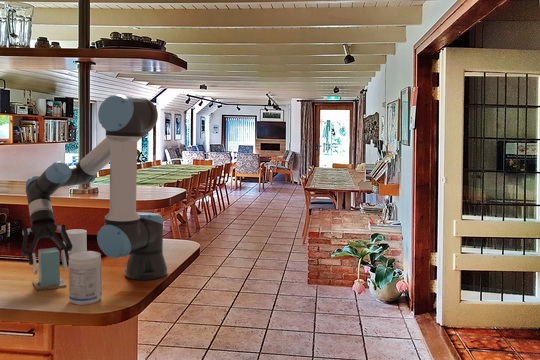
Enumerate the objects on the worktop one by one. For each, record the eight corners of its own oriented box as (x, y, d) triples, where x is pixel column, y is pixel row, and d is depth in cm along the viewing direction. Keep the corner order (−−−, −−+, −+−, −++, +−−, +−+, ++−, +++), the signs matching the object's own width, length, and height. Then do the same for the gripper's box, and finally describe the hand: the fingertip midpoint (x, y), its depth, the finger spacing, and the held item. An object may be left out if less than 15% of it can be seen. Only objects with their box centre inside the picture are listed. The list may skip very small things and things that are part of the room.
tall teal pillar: (39, 281, 160) (38, 249, 159) (56, 279, 163) (56, 247, 162) (41, 286, 156) (41, 253, 154) (59, 284, 159) (59, 251, 158)
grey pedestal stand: (32, 283, 161) (32, 258, 160) (60, 278, 166) (60, 255, 165) (37, 291, 153) (36, 265, 152) (66, 286, 158) (65, 261, 157)
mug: (71, 261, 186) (71, 236, 185) (54, 259, 189) (53, 234, 187) (90, 254, 198) (90, 230, 197) (74, 252, 200) (74, 228, 199)
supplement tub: (80, 293, 153) (79, 249, 151) (107, 296, 151) (107, 251, 150) (62, 304, 143) (62, 257, 141) (91, 307, 142) (91, 260, 140)
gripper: (71, 218, 176) (82, 271, 165) (7, 223, 164) (14, 280, 153) (74, 206, 171) (86, 260, 160) (8, 210, 159) (15, 269, 148)
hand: (50, 270), depth 156 cm, fingers open, 8 cm apart
